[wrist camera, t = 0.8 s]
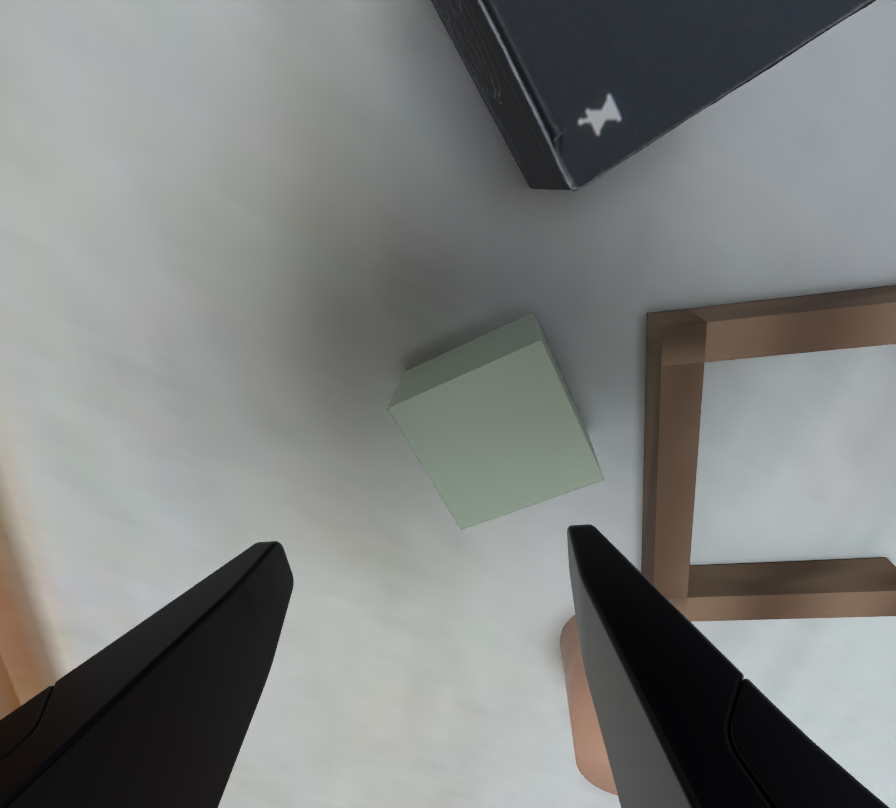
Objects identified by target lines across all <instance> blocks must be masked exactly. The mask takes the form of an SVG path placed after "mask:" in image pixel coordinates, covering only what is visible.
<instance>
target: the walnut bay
mask: <svg viewBox="0 0 896 808" xmlns="http://www.w3.org/2000/svg"><path fill="white" fill-rule="evenodd" d="M888 344H896V285H895V286H886V287H878V288H869V289H860V290H851V291H842V292H833V293H824V294H815V295H806V296H797V297H788V298H779V299H770V300H761V301H752V302H743V303H734V304H725V305H716V306H707V307H698V308H690V309H681V310H672V311H663V312H654V313H647V349H646V394H645V439H644V484H643V528H642V574H643V575H644V576H645V577H646V578H647V579H648V580H649V581H650V582H651V583H652V584H653V585H654V586H655V587H656V588H657V589H658V590H659V591H660V592H661V593H662V594H663V595H664V596H665V597H666V598H667V599H668V600H669V601H670V602H671V603H672V604H673V605H674V606H675V607H676V608H677V609H678V610H679V611H680V612H681V613H682V614H683V615H684V616H685V617H686V618H687V619H688V620H689V621H724V620H761V619H799V618H836V617H874V616H896V567H895V566H894V565H893V564H892V563H891V562H890V561H889V560H888V559H887V558H867V559H843V560H819V561H795V562H771V563H747V564H723V565H699V566H690V552H691V539H692V525H693V511H694V497H695V484H696V470H697V456H698V442H699V429H700V415H701V401H702V387H703V374H704V362H712V361H722V360H733V359H743V358H753V357H764V356H774V355H784V354H795V353H805V352H815V351H826V350H836V349H846V348H857V347H867V346H877V345H888Z"/></svg>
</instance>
